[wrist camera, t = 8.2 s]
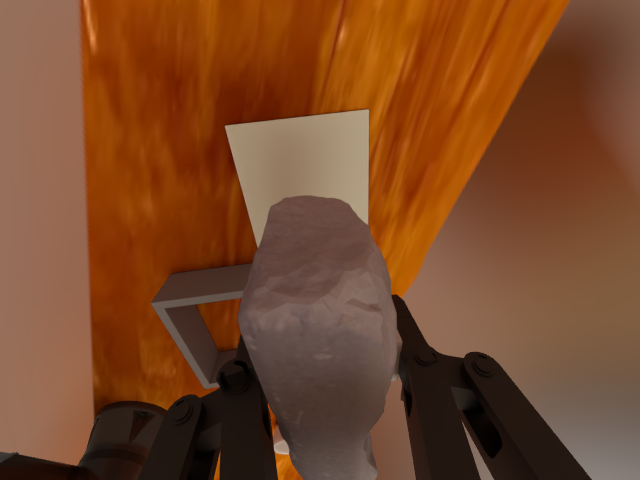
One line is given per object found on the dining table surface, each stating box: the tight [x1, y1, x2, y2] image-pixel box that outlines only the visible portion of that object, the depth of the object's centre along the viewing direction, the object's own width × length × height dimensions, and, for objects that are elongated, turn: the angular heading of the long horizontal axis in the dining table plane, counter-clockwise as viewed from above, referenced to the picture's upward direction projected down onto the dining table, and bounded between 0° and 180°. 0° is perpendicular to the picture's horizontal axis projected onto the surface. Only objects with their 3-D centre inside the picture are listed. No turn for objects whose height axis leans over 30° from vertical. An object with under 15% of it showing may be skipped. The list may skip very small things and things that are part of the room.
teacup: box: [273, 425, 289, 454], centre depth 60 cm, size 10×8×5 cm
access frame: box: [151, 263, 253, 389], centre depth 39 cm, size 25×20×6 cm
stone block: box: [238, 195, 397, 480], centre depth 12 cm, size 12×5×10 cm, turn 4°
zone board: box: [225, 109, 369, 247], centre depth 31 cm, size 16×16×1 cm
